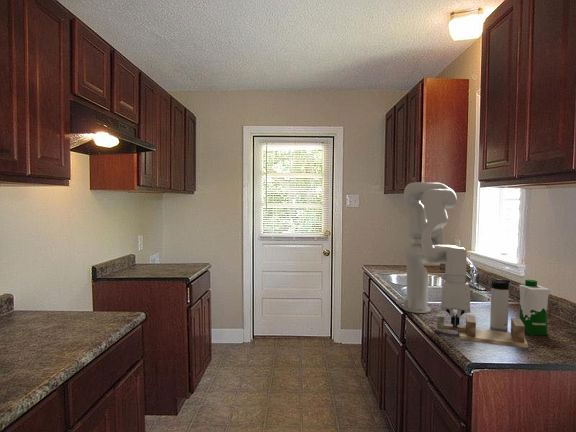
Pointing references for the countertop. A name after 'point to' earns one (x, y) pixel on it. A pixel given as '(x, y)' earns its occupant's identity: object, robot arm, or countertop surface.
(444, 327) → the sliding jaw
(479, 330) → the base
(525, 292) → the milk carton
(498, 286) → the travel mug
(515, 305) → the countertop surface
